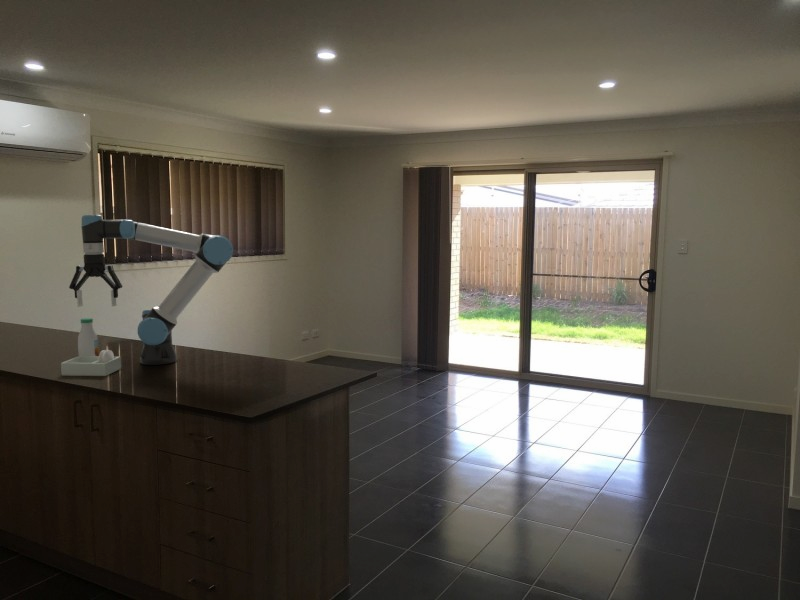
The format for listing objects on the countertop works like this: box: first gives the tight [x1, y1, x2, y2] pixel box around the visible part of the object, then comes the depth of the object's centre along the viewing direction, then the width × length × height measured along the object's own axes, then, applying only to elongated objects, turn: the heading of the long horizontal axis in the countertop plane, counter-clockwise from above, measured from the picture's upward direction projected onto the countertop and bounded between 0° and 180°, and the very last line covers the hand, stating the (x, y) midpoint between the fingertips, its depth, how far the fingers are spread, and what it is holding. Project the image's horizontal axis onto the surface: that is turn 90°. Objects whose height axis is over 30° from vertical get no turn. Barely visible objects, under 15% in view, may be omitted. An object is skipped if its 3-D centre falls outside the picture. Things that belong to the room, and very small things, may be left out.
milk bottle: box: [77, 317, 100, 356], centre depth 277 cm, size 8×8×20 cm
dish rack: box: [60, 349, 122, 377], centre depth 265 cm, size 13×18×9 cm
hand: (97, 306), depth 263 cm, fingers open, 13 cm apart
